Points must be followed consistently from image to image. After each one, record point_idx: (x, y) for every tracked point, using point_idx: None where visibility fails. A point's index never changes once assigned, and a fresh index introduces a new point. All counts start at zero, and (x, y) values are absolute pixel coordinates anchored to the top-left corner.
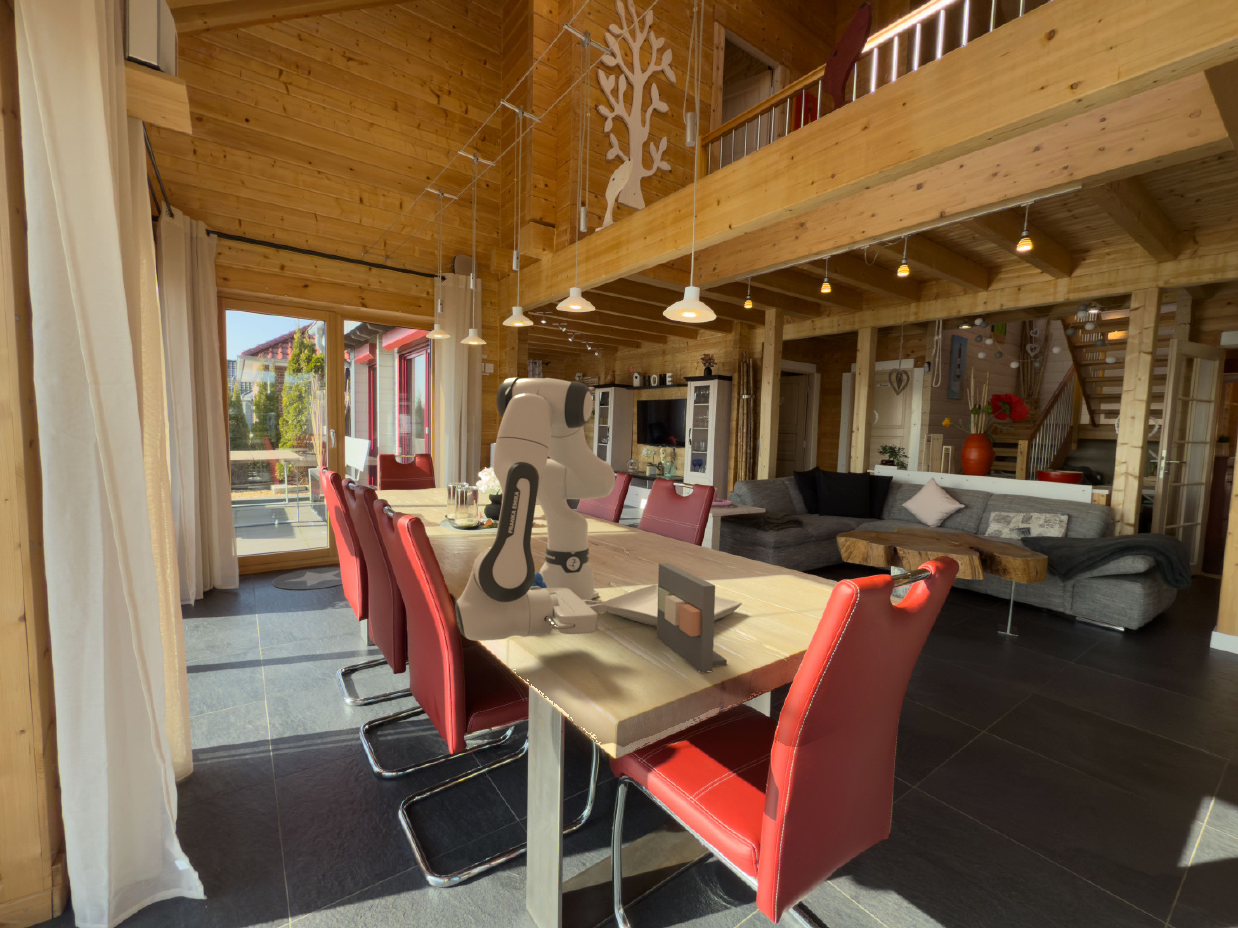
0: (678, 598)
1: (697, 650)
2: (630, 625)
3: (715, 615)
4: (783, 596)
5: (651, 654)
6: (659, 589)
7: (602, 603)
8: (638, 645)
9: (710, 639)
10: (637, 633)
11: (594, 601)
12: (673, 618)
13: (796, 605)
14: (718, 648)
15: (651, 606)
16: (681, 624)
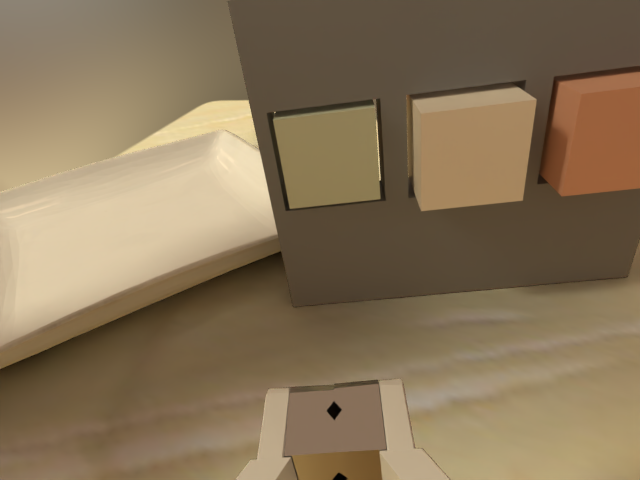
0: (468, 94)
1: (613, 224)
2: (132, 349)
3: None
4: (195, 110)
5: (449, 361)
6: (281, 127)
7: (373, 396)
8: (342, 379)
9: None
10: (221, 349)
11: (283, 456)
12: (510, 179)
13: (244, 107)
14: None
15: (52, 257)
16: (587, 172)
